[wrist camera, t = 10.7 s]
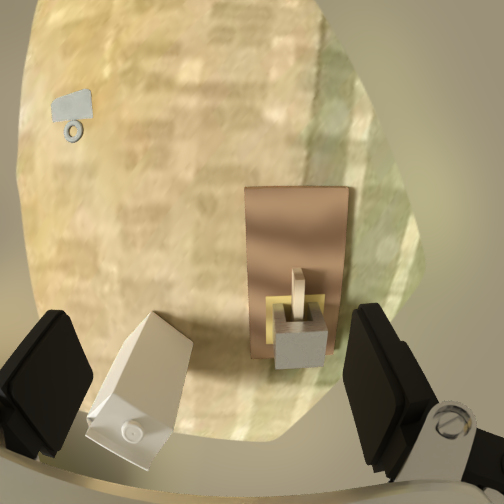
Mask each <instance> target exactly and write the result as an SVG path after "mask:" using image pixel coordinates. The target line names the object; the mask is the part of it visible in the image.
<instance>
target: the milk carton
mask: <svg viewBox="0 0 504 504" xmlns="http://www.w3.org/2000/svg"><path fill="white" fill-rule="evenodd" d="M192 348H193V342H192V341H191V340H190V339H188V338H187V337H185V336H184V335H183V334H181V333H180V332H179V331H177V330H176V329H175V328H174V327H172V326H171V325H170V324H168V323H167V322H166V321H164V320H163V319H162V318H161V317H159V316H158V315H157V314H155V313H154V312H153V311H151V312H150V313H149V314H148V315H147V316H146V318H145V319H144V320H143V321H142V322H141V323H140V324H139V325H138V326H137V327H136V328H135V330H134V331H133V332H132V333H131V334H130V335H129V336H128V337H127V338H126V339H125V341H124V343H123V345H122V347H121V349H120V351H119V353H118V354H117V356H116V358H115V360H114V362H113V364H112V366H111V368H110V370H109V372H108V374H107V376H106V378H105V380H104V382H103V384H102V386H101V388H100V390H99V392H98V394H97V397H96V399H95V401H94V403H93V405H92V407H91V409H90V411H89V413H88V416H87V422H88V426H89V428H88V430H87V433H86V436H87V437H88V438H90V439H91V440H93V441H95V442H96V443H98V444H99V445H101V446H103V447H104V448H106V449H108V450H109V451H111V452H113V453H115V454H116V455H118V456H120V457H122V458H124V459H125V460H127V461H129V462H131V463H133V464H135V465H137V466H139V467H141V468H143V469H145V470H147V471H148V470H149V468H150V463H151V462H152V460H153V459H154V457H155V456H156V455H157V453H158V452H159V450H160V449H161V448H162V446H163V445H164V443H165V442H166V441H167V439H168V438H169V436H170V435H171V434H172V432H173V429H174V425H175V421H176V417H177V412H178V408H179V403H180V399H181V394H182V390H183V386H184V381H185V377H186V373H187V369H188V364H189V360H190V356H191V352H192Z"/></svg>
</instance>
